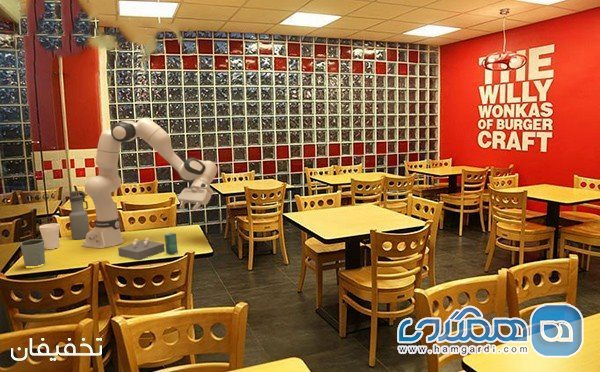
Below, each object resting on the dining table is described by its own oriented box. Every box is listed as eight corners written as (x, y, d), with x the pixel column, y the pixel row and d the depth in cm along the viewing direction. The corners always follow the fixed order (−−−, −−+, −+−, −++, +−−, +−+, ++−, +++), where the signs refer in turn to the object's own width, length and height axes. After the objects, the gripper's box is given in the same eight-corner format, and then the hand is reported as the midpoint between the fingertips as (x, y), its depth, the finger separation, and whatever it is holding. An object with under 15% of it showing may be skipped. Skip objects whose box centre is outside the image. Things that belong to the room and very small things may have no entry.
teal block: (166, 253, 231) (164, 234, 229) (172, 251, 234) (170, 232, 232) (171, 254, 229) (169, 235, 227) (177, 252, 232) (176, 233, 230)
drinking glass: (36, 261, 227) (32, 238, 225) (52, 262, 224) (49, 239, 222) (18, 268, 217) (14, 244, 215) (35, 269, 215) (31, 245, 213)
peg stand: (118, 255, 231) (117, 242, 230) (145, 247, 244) (143, 234, 243) (138, 260, 222) (137, 246, 221) (164, 251, 235) (163, 238, 234)
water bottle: (82, 234, 276) (76, 189, 271) (94, 235, 272) (88, 189, 267) (68, 239, 266) (62, 192, 262) (80, 240, 263) (74, 193, 258)
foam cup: (41, 252, 243) (38, 228, 241) (43, 247, 251) (40, 224, 249) (61, 249, 247) (58, 226, 244) (62, 244, 255) (59, 222, 253)
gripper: (182, 183, 248) (170, 204, 242) (209, 185, 237) (197, 207, 230) (189, 190, 252) (177, 211, 246) (216, 192, 241) (204, 214, 235)
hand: (187, 209), depth 238 cm, fingers open, 8 cm apart
